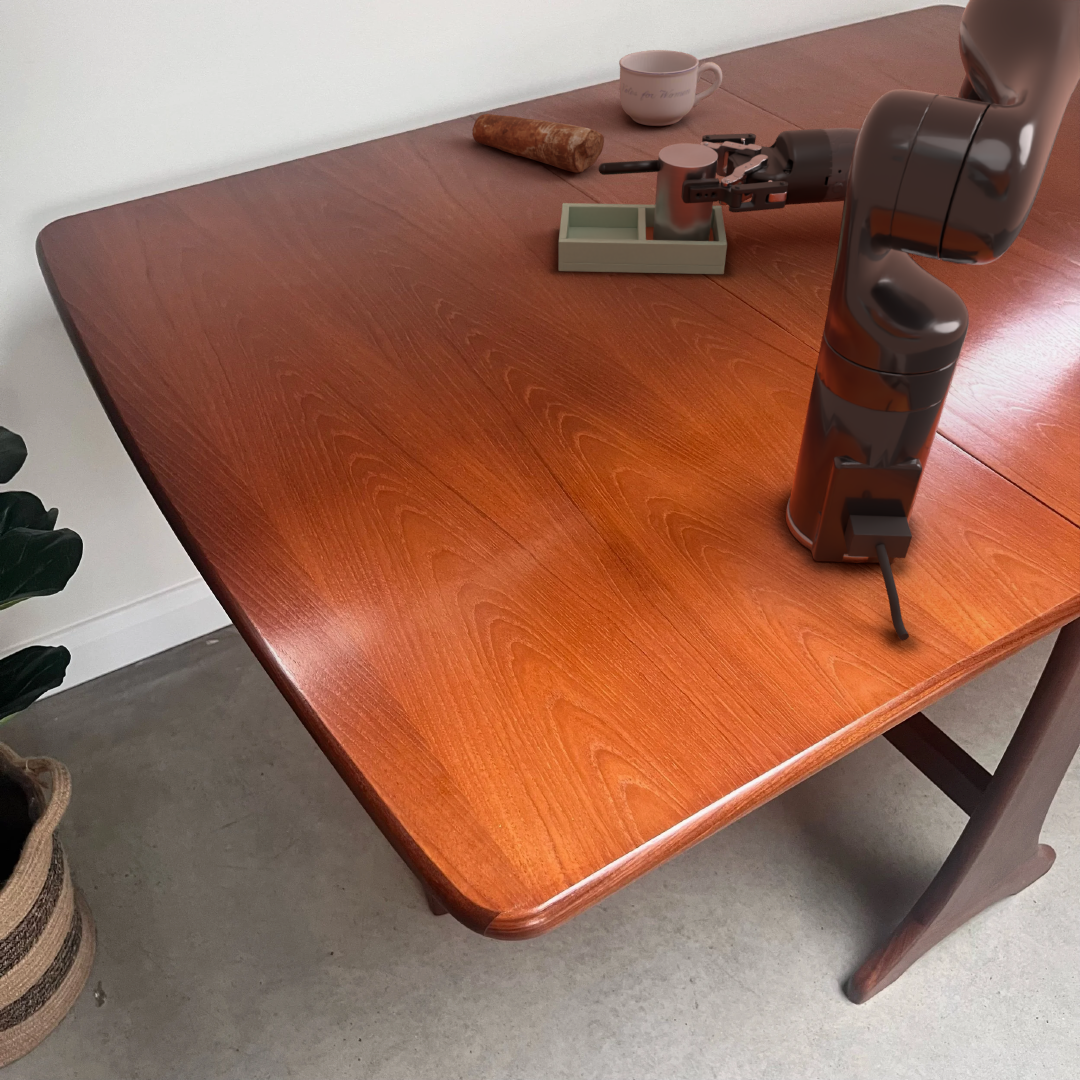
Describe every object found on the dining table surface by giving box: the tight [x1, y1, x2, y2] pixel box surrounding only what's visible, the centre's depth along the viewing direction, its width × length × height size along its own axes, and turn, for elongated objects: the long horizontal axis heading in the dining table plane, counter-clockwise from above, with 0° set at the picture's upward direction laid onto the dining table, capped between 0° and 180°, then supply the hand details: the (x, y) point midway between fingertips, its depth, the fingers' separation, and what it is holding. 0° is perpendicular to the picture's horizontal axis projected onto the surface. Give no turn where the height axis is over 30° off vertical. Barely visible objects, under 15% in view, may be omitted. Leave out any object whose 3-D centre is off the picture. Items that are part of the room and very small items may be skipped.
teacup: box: [618, 49, 723, 127], centre depth 143 cm, size 14×11×8 cm
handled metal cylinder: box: [597, 142, 718, 241], centre depth 113 cm, size 13×6×10 cm, turn 96°
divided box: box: [557, 202, 728, 275], centre depth 116 cm, size 9×18×4 cm, turn 86°
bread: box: [471, 113, 605, 174], centre depth 135 cm, size 6×19×6 cm, turn 52°
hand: (674, 174), depth 111 cm, fingers open, 8 cm apart
